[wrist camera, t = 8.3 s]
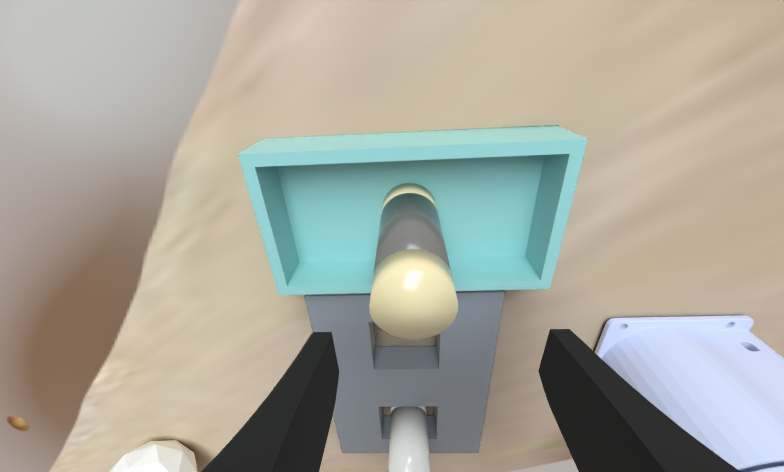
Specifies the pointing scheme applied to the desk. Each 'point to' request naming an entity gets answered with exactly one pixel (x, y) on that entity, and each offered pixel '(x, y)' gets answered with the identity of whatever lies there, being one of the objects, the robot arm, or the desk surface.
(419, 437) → the fuse
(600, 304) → the desk surface
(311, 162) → the tray
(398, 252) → the led light bulb
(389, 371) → the fuse block
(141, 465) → the geometric ball
